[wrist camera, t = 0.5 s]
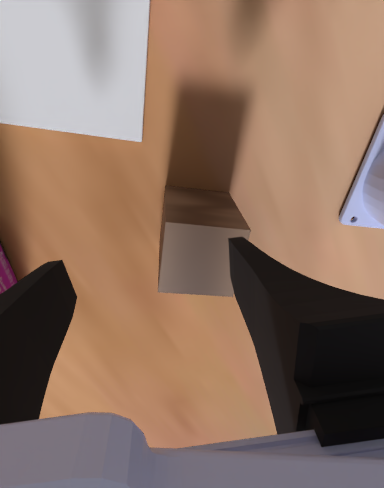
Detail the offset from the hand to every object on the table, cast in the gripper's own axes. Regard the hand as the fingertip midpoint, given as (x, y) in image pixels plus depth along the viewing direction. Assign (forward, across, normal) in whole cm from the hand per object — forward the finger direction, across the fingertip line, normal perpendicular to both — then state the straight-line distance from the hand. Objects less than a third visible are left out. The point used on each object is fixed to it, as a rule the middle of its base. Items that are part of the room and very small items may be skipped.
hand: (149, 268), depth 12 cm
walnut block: (+9, -2, +2) cm, 9 cm away
